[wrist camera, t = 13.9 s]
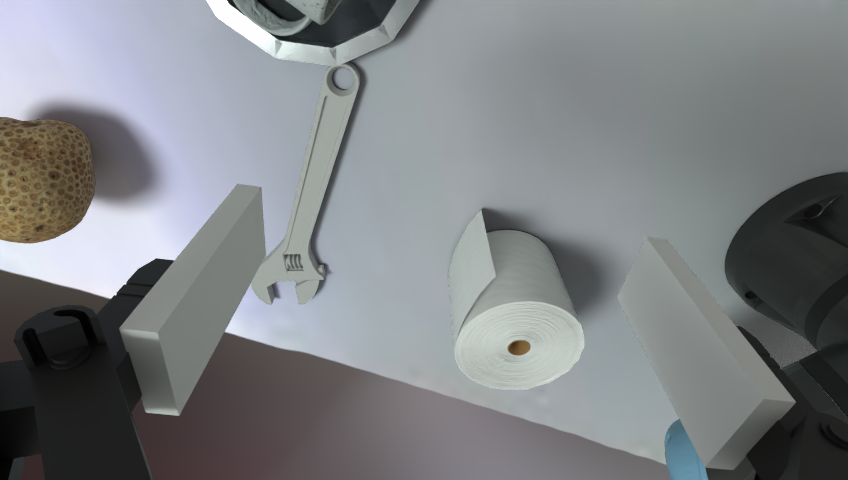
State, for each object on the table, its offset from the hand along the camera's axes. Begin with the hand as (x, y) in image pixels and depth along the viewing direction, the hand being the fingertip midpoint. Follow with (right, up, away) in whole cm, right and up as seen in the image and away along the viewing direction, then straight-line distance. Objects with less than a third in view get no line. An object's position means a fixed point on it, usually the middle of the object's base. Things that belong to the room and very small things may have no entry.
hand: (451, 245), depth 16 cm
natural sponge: (-30, +8, +22) cm, 38 cm away
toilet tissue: (+6, -3, +29) cm, 30 cm away
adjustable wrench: (-11, +4, +25) cm, 28 cm away
